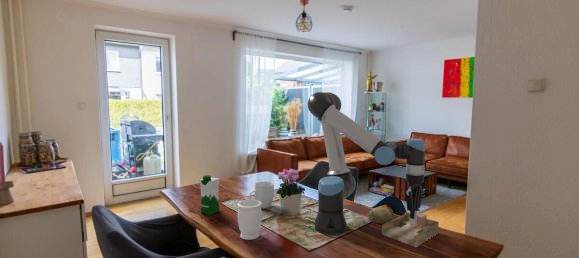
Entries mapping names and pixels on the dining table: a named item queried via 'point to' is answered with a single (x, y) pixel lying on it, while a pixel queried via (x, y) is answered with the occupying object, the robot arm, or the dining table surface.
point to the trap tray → (409, 230)
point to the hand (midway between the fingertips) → (413, 224)
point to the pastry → (381, 214)
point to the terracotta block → (421, 220)
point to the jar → (249, 218)
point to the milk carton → (209, 195)
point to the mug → (264, 193)
